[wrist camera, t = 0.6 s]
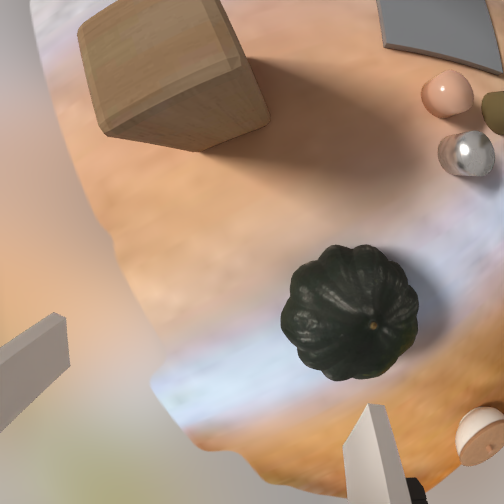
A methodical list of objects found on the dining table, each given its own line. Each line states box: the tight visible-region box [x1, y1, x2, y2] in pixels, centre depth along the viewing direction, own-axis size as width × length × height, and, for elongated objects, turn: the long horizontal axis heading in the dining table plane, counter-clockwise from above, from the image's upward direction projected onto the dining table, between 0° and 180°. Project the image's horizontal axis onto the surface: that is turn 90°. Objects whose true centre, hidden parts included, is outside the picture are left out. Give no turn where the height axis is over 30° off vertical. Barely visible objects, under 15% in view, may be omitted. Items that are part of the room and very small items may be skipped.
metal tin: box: [438, 131, 495, 176], centre depth 29 cm, size 5×5×6 cm
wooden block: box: [77, 0, 270, 152], centre depth 24 cm, size 10×10×20 cm
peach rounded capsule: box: [421, 70, 474, 118], centre depth 28 cm, size 5×5×5 cm
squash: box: [281, 245, 419, 381], centre depth 32 cm, size 14×15×15 cm
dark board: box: [376, 0, 503, 75], centre depth 25 cm, size 18×18×2 cm
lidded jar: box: [455, 407, 504, 466], centre depth 35 cm, size 11×11×9 cm
